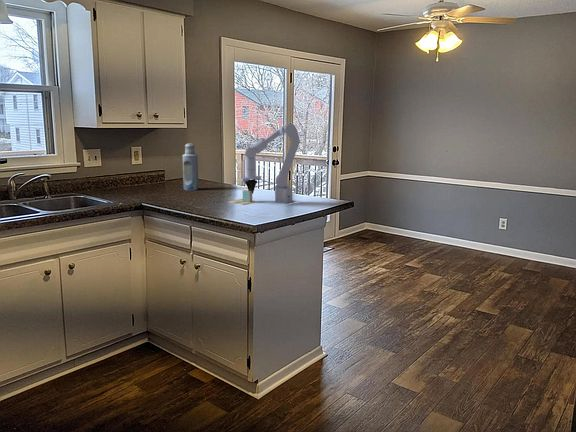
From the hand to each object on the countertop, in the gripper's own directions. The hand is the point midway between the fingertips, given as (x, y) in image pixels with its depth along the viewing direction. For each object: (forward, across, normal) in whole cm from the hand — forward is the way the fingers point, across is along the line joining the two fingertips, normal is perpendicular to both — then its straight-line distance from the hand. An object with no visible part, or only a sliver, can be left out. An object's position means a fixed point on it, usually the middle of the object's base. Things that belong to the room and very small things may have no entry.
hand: (251, 193), depth 274 cm
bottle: (+5, -9, -64) cm, 65 cm away
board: (+5, +5, -1) cm, 7 cm away
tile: (+4, +3, 0) cm, 5 cm away
